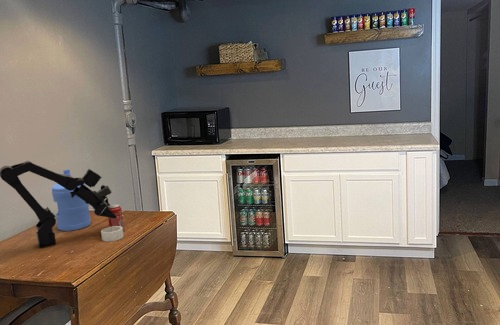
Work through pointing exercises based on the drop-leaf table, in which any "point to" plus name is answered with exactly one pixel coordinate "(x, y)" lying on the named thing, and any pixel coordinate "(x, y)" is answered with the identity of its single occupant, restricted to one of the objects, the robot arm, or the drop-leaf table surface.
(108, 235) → the ring
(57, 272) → the drop-leaf table surface
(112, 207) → the beverage can
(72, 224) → the water jug
